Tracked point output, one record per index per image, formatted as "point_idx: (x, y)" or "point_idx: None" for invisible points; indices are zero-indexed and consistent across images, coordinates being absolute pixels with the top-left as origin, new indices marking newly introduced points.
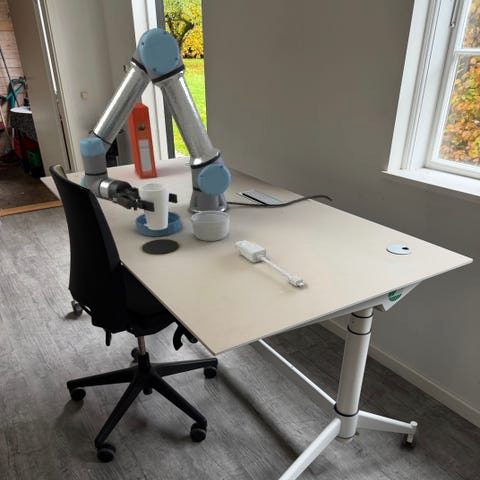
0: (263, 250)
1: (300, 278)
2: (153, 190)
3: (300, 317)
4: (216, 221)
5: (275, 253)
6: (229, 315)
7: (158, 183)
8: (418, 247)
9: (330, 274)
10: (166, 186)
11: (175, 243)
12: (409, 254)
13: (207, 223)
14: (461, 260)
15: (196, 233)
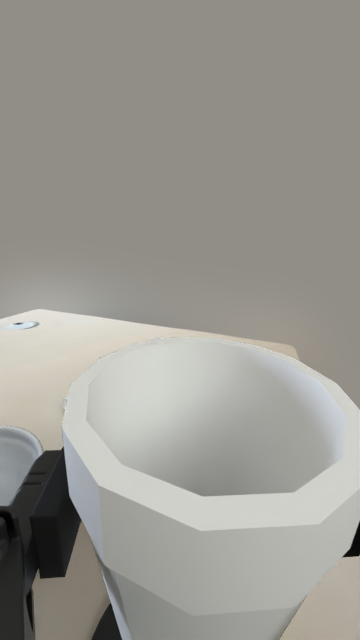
0: None
1: (152, 338)
2: (257, 350)
3: (205, 333)
4: None
5: (74, 379)
6: None
7: (86, 420)
8: (12, 320)
9: (114, 338)
10: (128, 359)
11: (113, 620)
12: (35, 321)
13: (42, 449)
14: (42, 309)
15: None
